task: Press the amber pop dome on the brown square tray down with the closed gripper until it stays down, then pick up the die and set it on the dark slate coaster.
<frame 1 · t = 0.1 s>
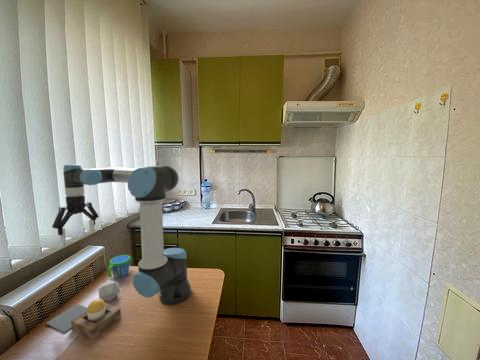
hand: (78, 236, 107), 28 cm above the table, fingers open, 13 cm apart
brown square tray: (97, 323, 86), on the table
die: (109, 298, 102), on the table
coaster: (71, 318, 89), on the table
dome: (96, 308, 85), point 6 cm above the table, slide at 0.0 cm
snack cup: (121, 275, 121), on the table
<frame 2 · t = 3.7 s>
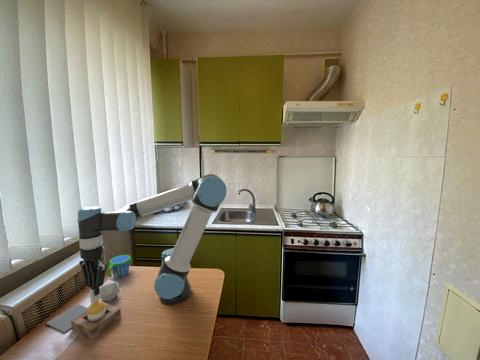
hand: (95, 301, 85), 10 cm above the table, fingers closed
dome: (96, 310, 85), point 6 cm above the table, slide at 0.7 cm, touching gripper
everything else where it was.
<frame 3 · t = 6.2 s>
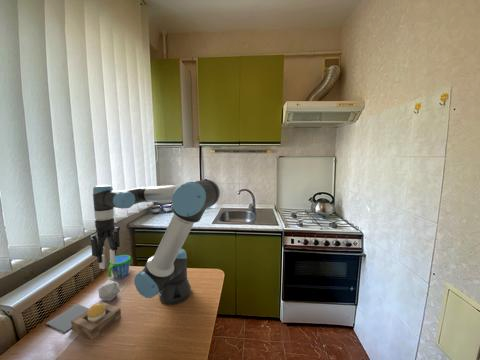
hand: (107, 265, 100), 17 cm above the table, fingers open, 5 cm apart
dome: (96, 313, 85), point 5 cm above the table, slide at 1.8 cm
everything else where it was.
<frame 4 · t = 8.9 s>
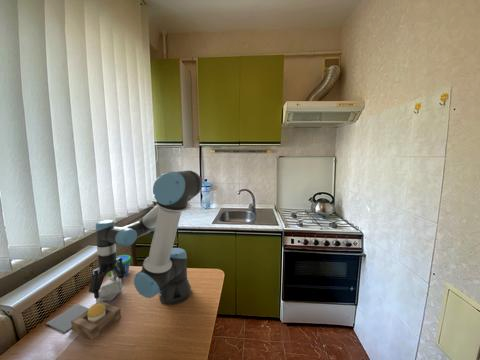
hand: (109, 296, 101), 1 cm above the table, fingers closed on die, 10 cm apart
die: (109, 298, 101), on the table, touching gripper
everything else where it was.
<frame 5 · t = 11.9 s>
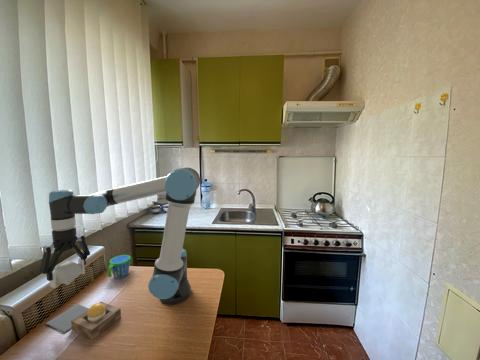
hand: (68, 279, 87), 17 cm above the table, fingers closed on die, 10 cm apart
die: (68, 281, 87), point 16 cm above the table, touching gripper
everything else where it was.
when the fingers open (3 cm above the table, at t = 15.0 s): die drops 2 cm, resting on coaster.
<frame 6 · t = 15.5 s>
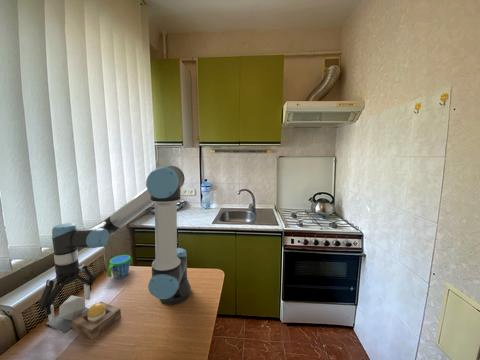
hand: (71, 308, 88), 4 cm above the table, fingers open, 13 cm apart
die: (73, 316, 89), resting on coaster
everything else where it was.
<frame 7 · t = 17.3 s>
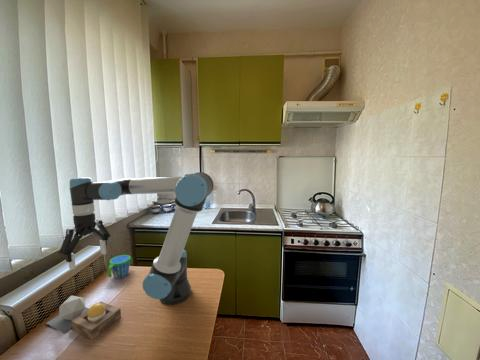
hand: (89, 260, 91), 23 cm above the table, fingers open, 13 cm apart
nothing on the table moved.
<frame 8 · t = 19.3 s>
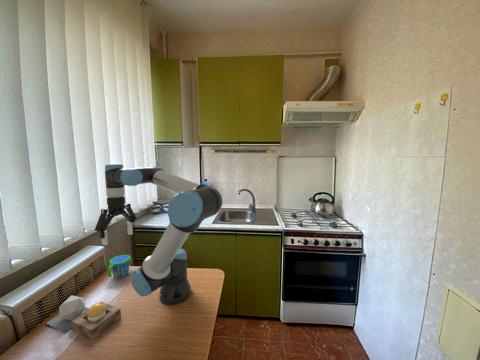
hand: (118, 239, 101), 29 cm above the table, fingers open, 13 cm apart
nothing on the table moved.
at the end: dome slide at 1.8 cm; die 0.5 cm from the coaster (horizontally); die resting on coaster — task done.
